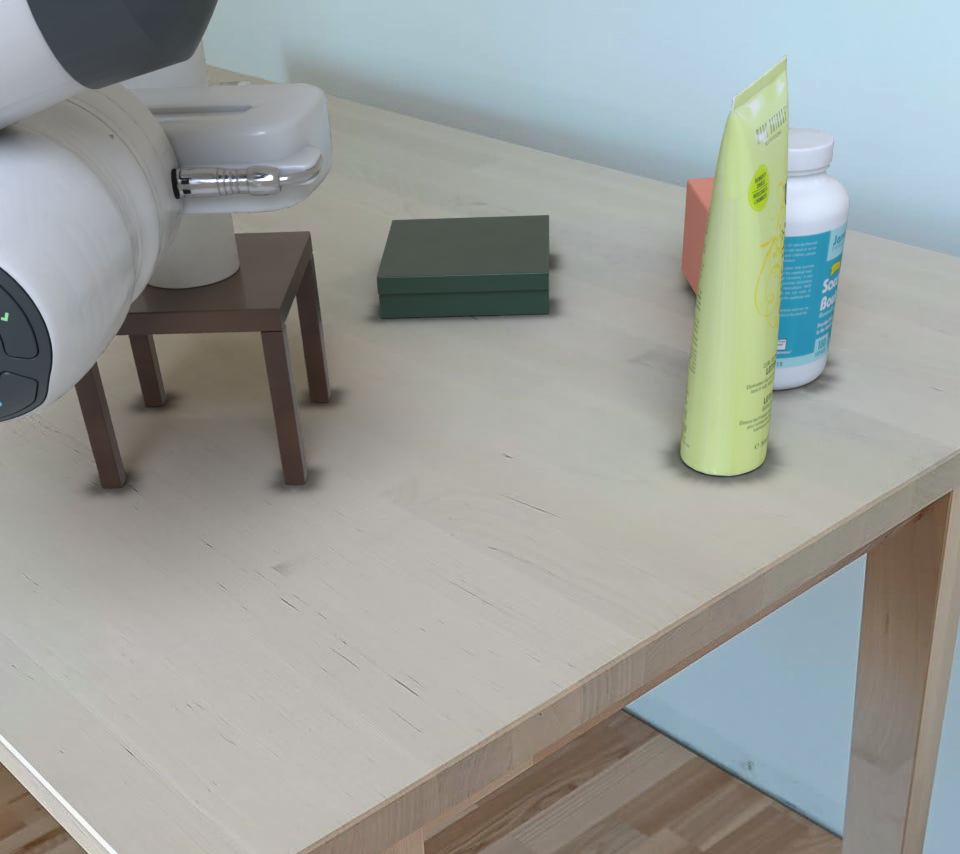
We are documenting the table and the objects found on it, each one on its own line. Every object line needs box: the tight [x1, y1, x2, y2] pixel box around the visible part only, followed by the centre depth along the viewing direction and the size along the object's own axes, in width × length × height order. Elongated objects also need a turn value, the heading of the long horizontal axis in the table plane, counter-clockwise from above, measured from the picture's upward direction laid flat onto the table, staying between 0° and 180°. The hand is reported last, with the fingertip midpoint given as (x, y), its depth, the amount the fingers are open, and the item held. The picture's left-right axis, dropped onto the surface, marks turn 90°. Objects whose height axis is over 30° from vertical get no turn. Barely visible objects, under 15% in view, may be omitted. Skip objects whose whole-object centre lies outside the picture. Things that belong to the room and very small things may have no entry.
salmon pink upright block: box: [681, 176, 715, 297], centre depth 88 cm, size 8×12×8 cm, turn 5°
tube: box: [679, 54, 790, 477], centre depth 67 cm, size 6×5×20 cm
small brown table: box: [74, 230, 332, 489], centre depth 75 cm, size 12×12×10 cm
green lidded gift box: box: [376, 214, 550, 319], centre depth 93 cm, size 12×12×3 cm
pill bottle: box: [773, 127, 851, 391], centre depth 77 cm, size 8×7×14 cm
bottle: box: [119, 38, 240, 289], centre depth 66 cm, size 6×6×16 cm
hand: (147, 102), depth 64 cm, fingers open, 8 cm apart
